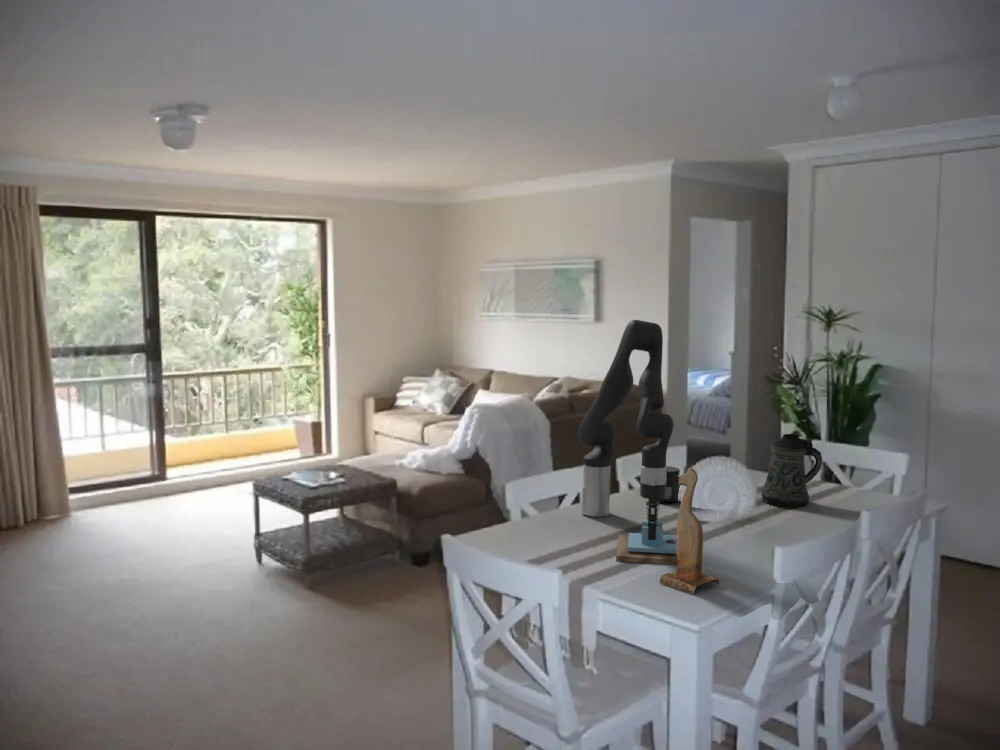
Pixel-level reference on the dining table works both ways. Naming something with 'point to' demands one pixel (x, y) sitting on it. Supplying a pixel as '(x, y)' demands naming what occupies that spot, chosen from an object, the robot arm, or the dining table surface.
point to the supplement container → (671, 486)
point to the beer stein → (789, 472)
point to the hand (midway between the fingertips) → (651, 535)
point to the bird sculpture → (688, 543)
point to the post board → (643, 554)
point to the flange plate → (651, 541)
